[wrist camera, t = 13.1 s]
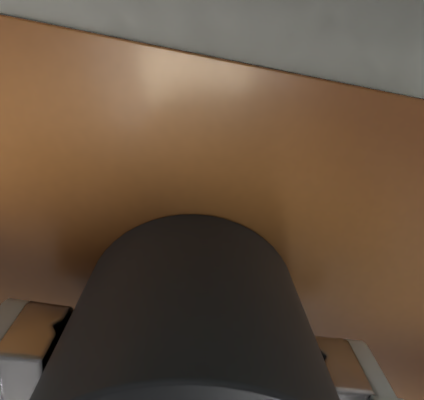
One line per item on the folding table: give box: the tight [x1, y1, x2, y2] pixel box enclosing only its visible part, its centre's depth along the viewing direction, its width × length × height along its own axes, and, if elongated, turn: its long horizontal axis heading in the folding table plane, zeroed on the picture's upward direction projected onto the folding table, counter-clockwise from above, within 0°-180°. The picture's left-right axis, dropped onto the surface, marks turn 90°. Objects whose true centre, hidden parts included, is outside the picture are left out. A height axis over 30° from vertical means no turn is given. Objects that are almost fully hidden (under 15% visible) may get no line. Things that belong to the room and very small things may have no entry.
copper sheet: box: [0, 14, 424, 400], centre depth 10 cm, size 14×20×1 cm
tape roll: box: [29, 214, 340, 400], centre depth 8 cm, size 6×6×5 cm
